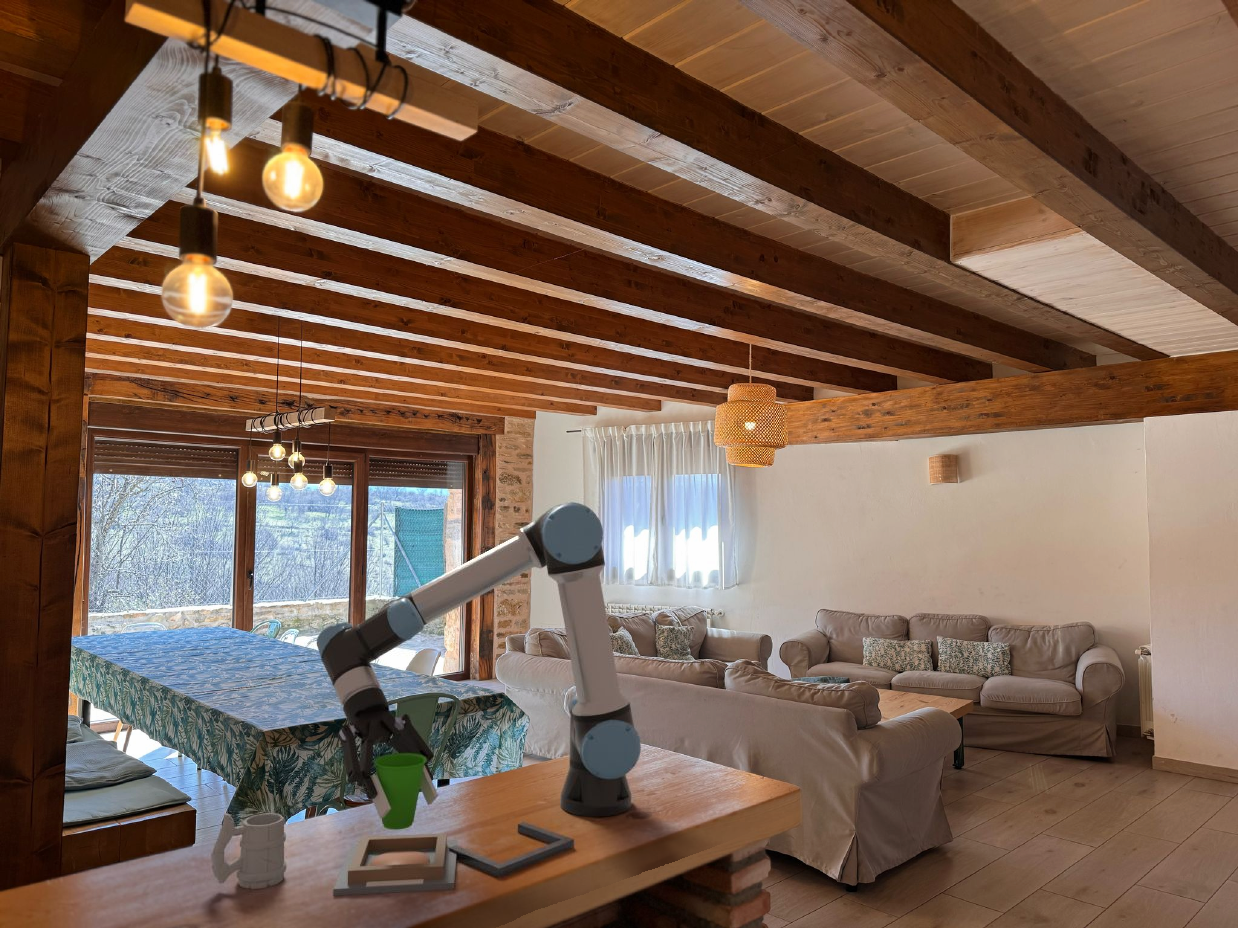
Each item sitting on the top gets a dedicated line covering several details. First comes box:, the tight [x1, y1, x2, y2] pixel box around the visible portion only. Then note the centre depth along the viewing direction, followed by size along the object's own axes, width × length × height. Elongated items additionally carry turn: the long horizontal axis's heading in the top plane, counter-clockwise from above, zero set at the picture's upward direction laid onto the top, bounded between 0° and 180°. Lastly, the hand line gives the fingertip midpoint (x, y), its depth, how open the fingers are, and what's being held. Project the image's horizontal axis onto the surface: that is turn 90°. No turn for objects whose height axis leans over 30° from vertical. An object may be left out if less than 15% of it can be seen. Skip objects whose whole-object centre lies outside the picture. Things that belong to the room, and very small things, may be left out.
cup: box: [372, 752, 427, 831], centre depth 148 cm, size 9×9×11 cm
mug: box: [210, 812, 288, 890], centre depth 141 cm, size 8×12×12 cm, turn 131°
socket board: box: [332, 832, 458, 896], centre depth 147 cm, size 19×19×3 cm
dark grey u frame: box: [449, 821, 575, 878], centre depth 156 cm, size 14×18×2 cm
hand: (410, 806), depth 146 cm, fingers closed on cup, 9 cm apart
